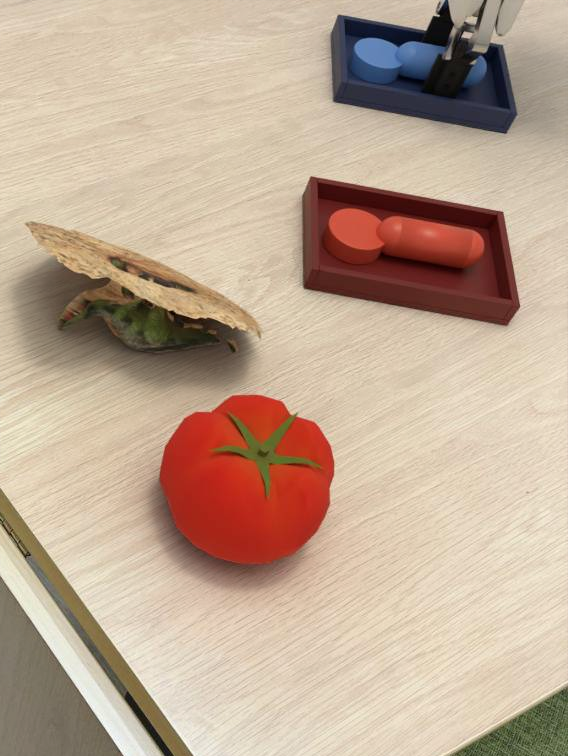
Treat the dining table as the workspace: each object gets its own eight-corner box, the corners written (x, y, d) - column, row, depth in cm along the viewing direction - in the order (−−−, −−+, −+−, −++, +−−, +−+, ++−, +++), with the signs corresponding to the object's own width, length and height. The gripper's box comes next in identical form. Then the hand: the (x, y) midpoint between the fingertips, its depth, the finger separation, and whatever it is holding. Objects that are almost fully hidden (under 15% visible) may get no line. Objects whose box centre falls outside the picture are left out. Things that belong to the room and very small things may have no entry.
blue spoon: (474, 73, 95) (489, 43, 93) (479, 103, 93) (495, 73, 90) (347, 49, 95) (359, 19, 93) (348, 78, 92) (361, 48, 90)
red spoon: (470, 246, 81) (488, 217, 79) (476, 287, 79) (495, 258, 76) (321, 219, 81) (334, 188, 79) (322, 259, 79) (336, 228, 76)
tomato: (181, 596, 61) (213, 530, 55) (131, 454, 67) (155, 380, 60) (338, 570, 63) (386, 504, 57) (277, 436, 69) (314, 362, 63)
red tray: (491, 230, 84) (503, 211, 82) (507, 325, 77) (520, 306, 76) (302, 195, 83) (310, 175, 82) (303, 288, 77) (312, 268, 76)
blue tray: (492, 64, 97) (503, 44, 96) (506, 133, 91) (517, 114, 90) (330, 33, 97) (338, 13, 95) (333, 101, 91) (341, 81, 89)
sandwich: (175, 326, 82) (225, 245, 78) (229, 432, 72) (291, 346, 68) (-23, 256, 75) (21, 162, 71) (7, 363, 65) (60, 262, 60)
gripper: (601, -69, 74) (481, 142, 89) (566, -171, 83) (463, 36, 98) (502, -88, 74) (399, 127, 89) (479, -188, 83) (389, 22, 98)
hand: (434, 77), depth 94 cm, fingers open, 5 cm apart
